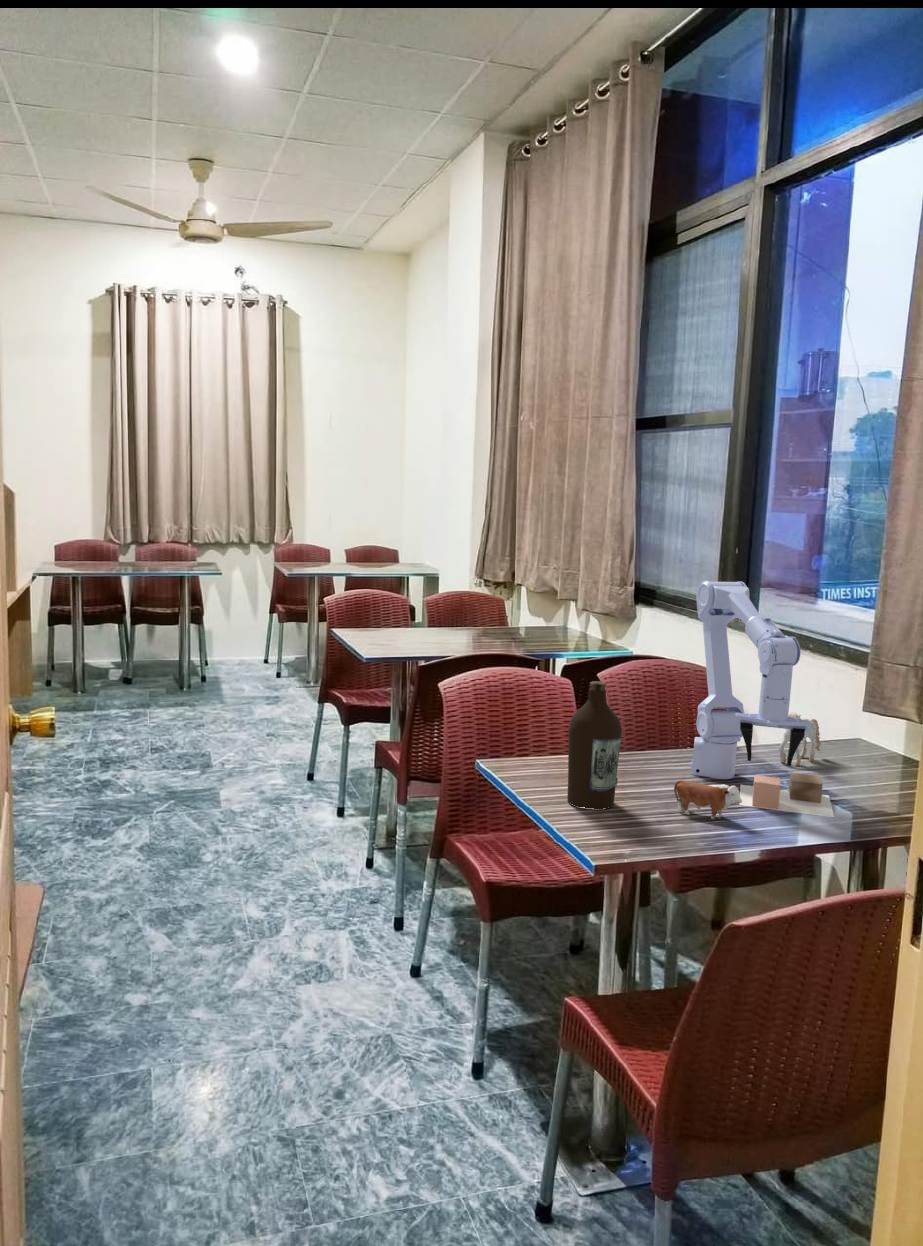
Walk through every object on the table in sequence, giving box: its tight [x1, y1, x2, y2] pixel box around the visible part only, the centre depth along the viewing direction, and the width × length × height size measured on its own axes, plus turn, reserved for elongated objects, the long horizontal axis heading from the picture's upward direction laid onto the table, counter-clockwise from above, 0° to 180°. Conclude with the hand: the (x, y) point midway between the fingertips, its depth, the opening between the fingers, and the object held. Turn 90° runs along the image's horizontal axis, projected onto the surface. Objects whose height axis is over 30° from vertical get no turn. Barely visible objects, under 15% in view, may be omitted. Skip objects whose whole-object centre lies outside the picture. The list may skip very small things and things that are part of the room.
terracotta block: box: [752, 774, 781, 810], centre depth 195 cm, size 5×5×5 cm
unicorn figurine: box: [778, 711, 822, 767], centre depth 228 cm, size 7×20×13 cm, turn 149°
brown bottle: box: [567, 680, 623, 809], centre depth 193 cm, size 11×11×25 cm
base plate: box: [738, 784, 835, 818], centre depth 198 cm, size 18×14×1 cm
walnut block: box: [788, 772, 824, 803], centre depth 201 cm, size 6×6×4 cm
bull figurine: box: [673, 780, 742, 820], centre depth 187 cm, size 4×13×8 cm, turn 58°
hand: (768, 761), depth 194 cm, fingers open, 7 cm apart
